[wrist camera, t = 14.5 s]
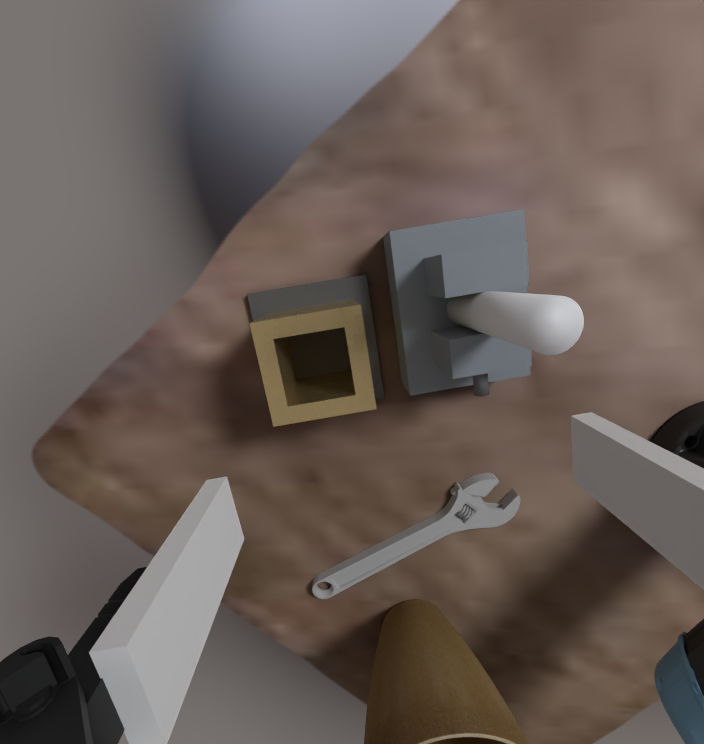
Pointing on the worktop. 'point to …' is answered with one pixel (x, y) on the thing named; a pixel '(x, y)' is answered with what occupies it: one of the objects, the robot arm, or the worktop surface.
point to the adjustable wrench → (424, 533)
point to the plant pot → (432, 685)
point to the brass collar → (318, 392)
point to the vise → (471, 304)
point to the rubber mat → (327, 346)
